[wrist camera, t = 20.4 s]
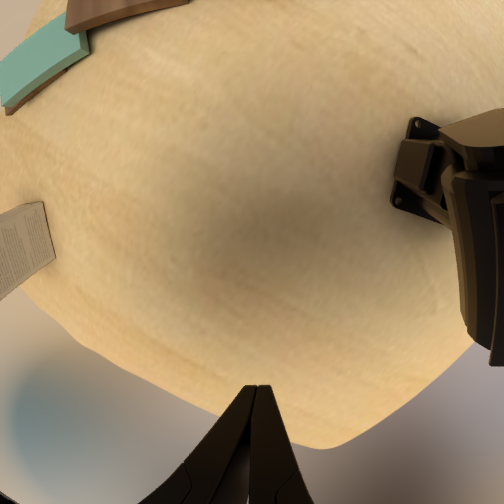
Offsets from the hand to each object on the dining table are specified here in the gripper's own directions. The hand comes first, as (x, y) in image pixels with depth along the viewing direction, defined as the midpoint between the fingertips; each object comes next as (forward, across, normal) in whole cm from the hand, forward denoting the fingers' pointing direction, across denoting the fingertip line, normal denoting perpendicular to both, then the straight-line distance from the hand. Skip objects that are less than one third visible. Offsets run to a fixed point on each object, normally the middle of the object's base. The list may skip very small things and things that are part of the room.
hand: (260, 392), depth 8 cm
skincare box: (+13, +23, -4) cm, 27 cm away
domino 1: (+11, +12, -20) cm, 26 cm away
